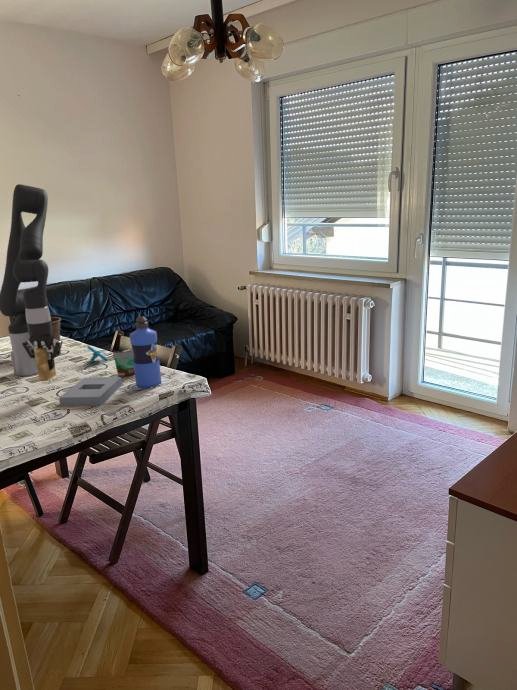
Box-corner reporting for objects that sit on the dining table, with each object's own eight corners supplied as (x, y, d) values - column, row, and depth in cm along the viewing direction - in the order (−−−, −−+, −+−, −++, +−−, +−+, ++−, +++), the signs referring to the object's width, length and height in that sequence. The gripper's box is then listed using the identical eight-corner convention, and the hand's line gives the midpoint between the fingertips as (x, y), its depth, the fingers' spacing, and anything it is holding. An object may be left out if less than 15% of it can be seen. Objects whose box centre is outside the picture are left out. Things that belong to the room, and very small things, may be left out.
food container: (127, 380, 195) (123, 354, 193) (115, 378, 199) (112, 352, 196) (150, 370, 205) (147, 346, 203) (138, 368, 209) (135, 344, 206)
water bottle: (130, 387, 187) (121, 319, 180) (145, 379, 195) (137, 313, 189) (152, 389, 184) (144, 319, 177) (166, 380, 192) (159, 314, 185)
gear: (109, 359, 217) (89, 345, 214) (100, 371, 217) (80, 357, 213) (107, 356, 228) (88, 343, 225) (99, 367, 227) (79, 354, 224)
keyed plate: (60, 406, 173) (58, 397, 172) (85, 385, 192) (84, 377, 191) (101, 405, 171) (99, 396, 171) (122, 384, 191) (121, 376, 190)
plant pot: (52, 348, 247) (47, 315, 243) (73, 352, 238) (68, 318, 234) (20, 358, 234) (14, 322, 230) (41, 362, 225) (35, 326, 221)
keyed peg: (39, 380, 178) (34, 349, 175) (48, 375, 183) (43, 344, 180) (47, 380, 177) (42, 349, 174) (56, 375, 183) (51, 344, 180)
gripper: (64, 317, 178) (71, 365, 182) (25, 318, 179) (32, 366, 184) (53, 322, 170) (60, 372, 175) (12, 323, 172) (21, 373, 177)
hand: (46, 369), depth 179 cm, fingers closed on keyed peg, 3 cm apart
